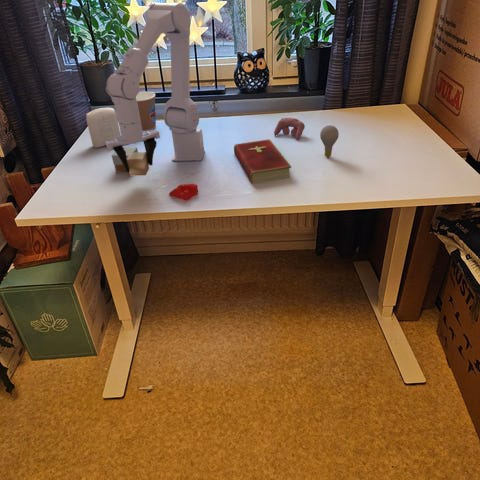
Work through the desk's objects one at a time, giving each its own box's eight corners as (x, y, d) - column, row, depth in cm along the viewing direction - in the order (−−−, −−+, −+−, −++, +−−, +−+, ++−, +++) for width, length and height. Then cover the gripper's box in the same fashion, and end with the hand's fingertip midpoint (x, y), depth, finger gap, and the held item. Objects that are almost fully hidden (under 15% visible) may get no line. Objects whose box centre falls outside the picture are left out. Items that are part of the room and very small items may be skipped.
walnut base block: (140, 164, 140) (138, 156, 138) (135, 173, 135) (133, 164, 133) (122, 165, 140) (120, 156, 139) (116, 173, 135) (114, 164, 134)
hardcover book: (250, 185, 125) (250, 171, 123) (234, 156, 142) (233, 143, 140) (291, 178, 127) (291, 165, 125) (269, 150, 144) (269, 138, 142)
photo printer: (119, 138, 159) (111, 103, 152) (123, 141, 156) (116, 106, 149) (91, 145, 154) (82, 110, 147) (95, 149, 151) (86, 114, 144)
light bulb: (340, 156, 137) (342, 125, 131) (330, 162, 134) (332, 130, 128) (325, 151, 140) (327, 121, 134) (315, 157, 137) (317, 126, 131)
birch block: (149, 168, 128) (146, 152, 125) (145, 175, 124) (142, 159, 121) (134, 168, 128) (130, 152, 125) (130, 175, 124) (126, 159, 121)
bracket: (198, 194, 122) (197, 185, 120) (187, 202, 119) (185, 192, 117) (180, 189, 125) (179, 179, 124) (169, 196, 122) (167, 186, 120)
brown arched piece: (303, 141, 152) (307, 120, 150) (298, 140, 148) (302, 118, 146) (277, 136, 156) (281, 116, 155) (272, 135, 152) (276, 114, 151)
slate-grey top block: (138, 156, 138) (137, 147, 136) (132, 164, 133) (130, 155, 131) (120, 156, 139) (118, 147, 137) (113, 164, 134) (111, 155, 132)
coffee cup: (157, 132, 161) (152, 99, 154) (130, 133, 162) (123, 100, 155) (162, 122, 170) (157, 90, 163) (135, 123, 170) (129, 92, 163)
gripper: (150, 110, 123) (158, 155, 131) (98, 122, 117) (110, 168, 125) (159, 118, 118) (166, 164, 125) (105, 130, 112) (116, 178, 120)
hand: (138, 167), depth 125 cm, fingers closed on birch block, 6 cm apart
